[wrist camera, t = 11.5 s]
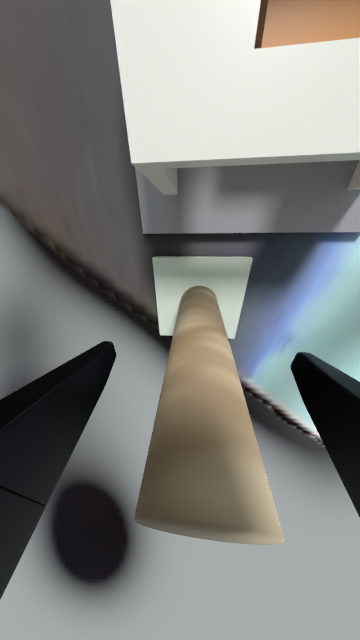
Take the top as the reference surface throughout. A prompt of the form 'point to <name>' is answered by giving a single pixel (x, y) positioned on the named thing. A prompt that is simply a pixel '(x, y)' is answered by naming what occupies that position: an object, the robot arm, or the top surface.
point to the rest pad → (211, 272)
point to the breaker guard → (237, 121)
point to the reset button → (306, 21)
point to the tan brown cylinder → (205, 440)
